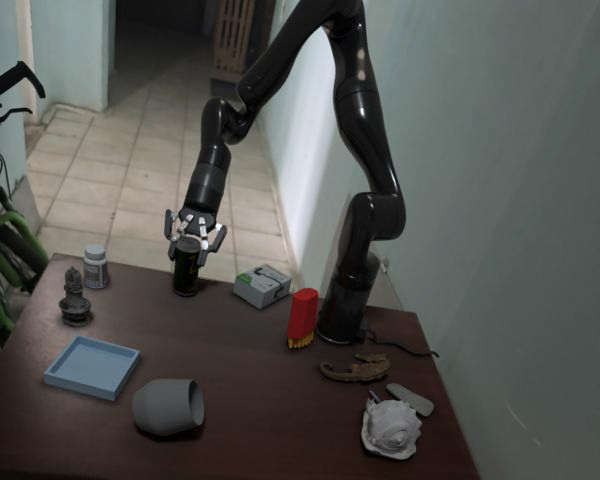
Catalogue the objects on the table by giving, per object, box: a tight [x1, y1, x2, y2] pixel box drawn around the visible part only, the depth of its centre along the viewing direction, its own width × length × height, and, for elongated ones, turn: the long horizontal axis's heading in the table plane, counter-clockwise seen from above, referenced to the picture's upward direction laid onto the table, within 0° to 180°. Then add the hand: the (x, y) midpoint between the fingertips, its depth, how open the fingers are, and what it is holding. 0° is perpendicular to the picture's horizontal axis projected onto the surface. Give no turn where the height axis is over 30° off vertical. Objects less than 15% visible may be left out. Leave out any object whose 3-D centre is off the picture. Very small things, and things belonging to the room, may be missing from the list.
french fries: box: [286, 287, 319, 349], centre depth 112 cm, size 8×4×12 cm, turn 145°
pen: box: [368, 389, 382, 404], centre depth 104 cm, size 1×1×14 cm
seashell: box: [360, 397, 423, 461], centre depth 95 cm, size 12×14×10 cm
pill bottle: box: [82, 243, 109, 290], centre depth 111 cm, size 5×5×8 cm
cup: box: [131, 378, 205, 437], centre depth 85 cm, size 10×9×10 cm
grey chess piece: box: [58, 265, 92, 328], centre depth 99 cm, size 6×6×12 cm
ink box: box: [232, 263, 293, 310], centre depth 125 cm, size 9×5×12 cm
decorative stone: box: [385, 382, 435, 417], centre depth 108 cm, size 11×1×5 cm
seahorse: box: [319, 352, 392, 384], centre depth 111 cm, size 9×16×3 cm, turn 123°
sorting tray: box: [43, 333, 141, 402], centre depth 93 cm, size 12×12×2 cm
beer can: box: [172, 235, 202, 297], centre depth 115 cm, size 5×5×12 cm
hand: (185, 263), depth 113 cm, fingers closed on beer can, 5 cm apart
